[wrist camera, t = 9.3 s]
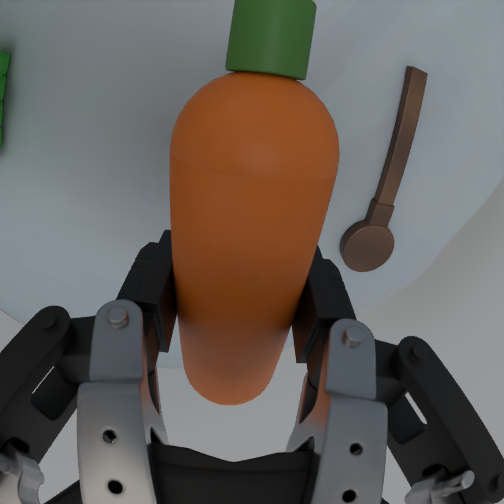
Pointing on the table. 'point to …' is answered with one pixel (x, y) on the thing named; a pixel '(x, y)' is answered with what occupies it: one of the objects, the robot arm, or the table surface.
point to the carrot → (249, 200)
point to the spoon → (386, 185)
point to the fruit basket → (2, 84)
